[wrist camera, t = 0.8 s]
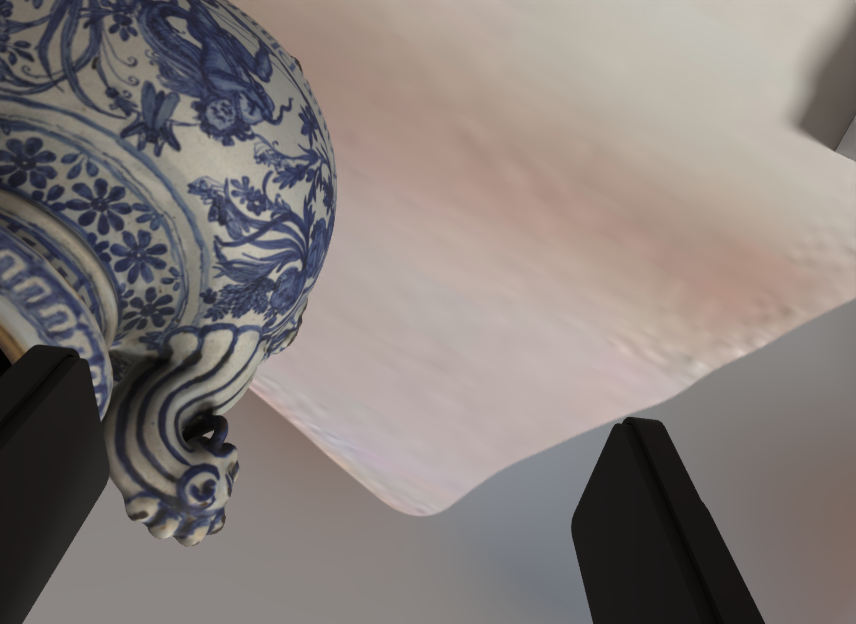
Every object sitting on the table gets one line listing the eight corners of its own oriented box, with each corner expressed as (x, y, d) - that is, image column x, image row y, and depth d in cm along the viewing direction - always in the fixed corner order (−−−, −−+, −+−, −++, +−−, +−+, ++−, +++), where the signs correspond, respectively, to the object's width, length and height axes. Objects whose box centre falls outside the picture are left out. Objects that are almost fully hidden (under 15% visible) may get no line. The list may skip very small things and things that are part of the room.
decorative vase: (431, 166, 40) (423, 477, 16) (241, 296, 45) (27, 666, 22) (204, -156, 31) (-610, -549, 7) (2, 59, 36) (-816, 250, 13)
